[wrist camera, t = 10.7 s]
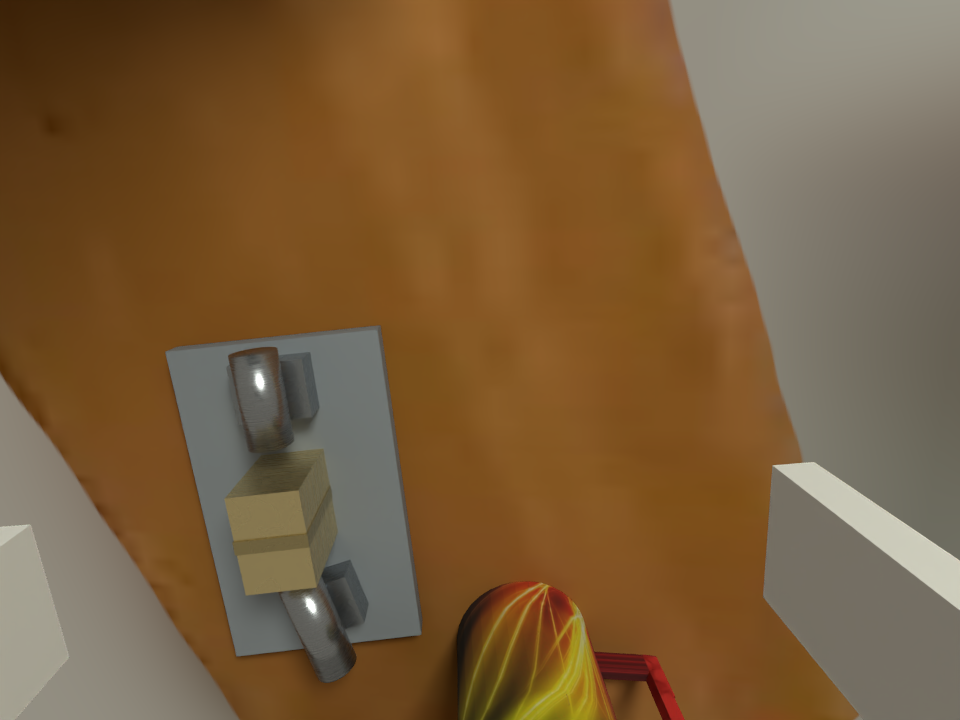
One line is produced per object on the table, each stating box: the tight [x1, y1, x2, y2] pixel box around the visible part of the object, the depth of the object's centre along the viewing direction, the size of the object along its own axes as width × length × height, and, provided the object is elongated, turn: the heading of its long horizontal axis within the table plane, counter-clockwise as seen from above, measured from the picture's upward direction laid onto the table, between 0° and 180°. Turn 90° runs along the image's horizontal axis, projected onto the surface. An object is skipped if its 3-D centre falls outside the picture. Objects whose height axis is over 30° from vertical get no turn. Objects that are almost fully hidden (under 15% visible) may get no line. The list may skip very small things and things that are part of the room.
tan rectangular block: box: [224, 449, 338, 596], centre depth 34 cm, size 6×4×6 cm
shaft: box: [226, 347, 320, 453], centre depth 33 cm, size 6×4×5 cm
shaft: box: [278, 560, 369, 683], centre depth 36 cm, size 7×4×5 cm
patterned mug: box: [457, 581, 684, 720], centre depth 36 cm, size 10×14×12 cm
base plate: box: [165, 325, 422, 656], centre depth 38 cm, size 22×13×2 cm, turn 6°
